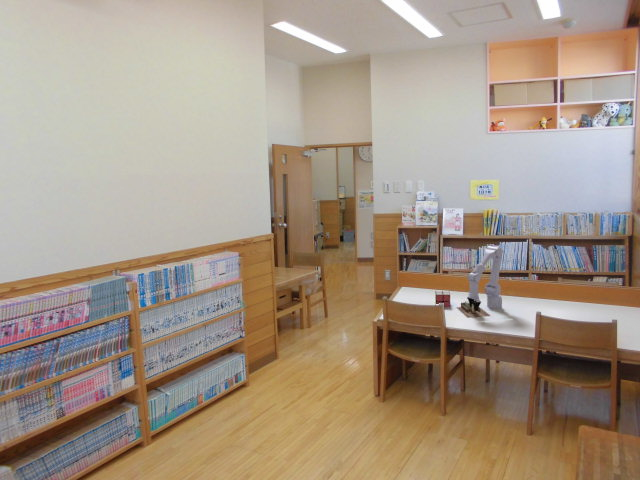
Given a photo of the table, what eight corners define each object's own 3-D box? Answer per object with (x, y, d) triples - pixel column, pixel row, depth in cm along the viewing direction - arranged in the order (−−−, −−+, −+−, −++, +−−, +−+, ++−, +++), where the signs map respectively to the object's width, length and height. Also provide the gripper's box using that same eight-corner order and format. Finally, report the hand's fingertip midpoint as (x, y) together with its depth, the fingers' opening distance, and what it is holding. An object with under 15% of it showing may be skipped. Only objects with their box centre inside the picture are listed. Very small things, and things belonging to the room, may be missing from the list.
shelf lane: (477, 306, 333) (477, 301, 332) (490, 317, 311) (490, 310, 311) (455, 308, 332) (455, 302, 331) (467, 318, 310) (467, 312, 310)
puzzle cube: (450, 308, 334) (450, 294, 332) (436, 307, 336) (435, 294, 334) (449, 303, 343) (449, 290, 342) (435, 303, 346) (435, 290, 344)
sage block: (471, 307, 330) (471, 299, 329) (478, 312, 318) (478, 304, 317) (464, 307, 330) (464, 300, 329) (471, 313, 318) (471, 305, 317)
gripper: (464, 287, 324) (464, 306, 326) (472, 293, 309) (472, 313, 312) (474, 286, 324) (474, 305, 326) (482, 292, 310) (482, 312, 312)
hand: (473, 309), depth 319 cm, fingers open, 7 cm apart
